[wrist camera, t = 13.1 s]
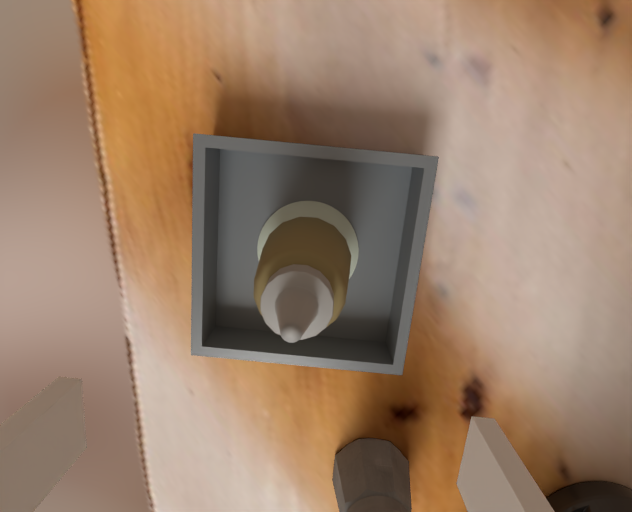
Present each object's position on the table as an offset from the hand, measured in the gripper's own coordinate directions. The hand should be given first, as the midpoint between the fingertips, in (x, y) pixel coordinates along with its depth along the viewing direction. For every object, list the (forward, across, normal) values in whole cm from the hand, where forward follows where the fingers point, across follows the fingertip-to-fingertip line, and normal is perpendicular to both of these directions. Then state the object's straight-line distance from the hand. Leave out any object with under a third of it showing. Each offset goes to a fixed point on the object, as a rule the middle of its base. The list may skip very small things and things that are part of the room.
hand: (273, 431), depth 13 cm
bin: (+27, 0, 0) cm, 27 cm away
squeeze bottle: (+26, 0, 0) cm, 26 cm away
